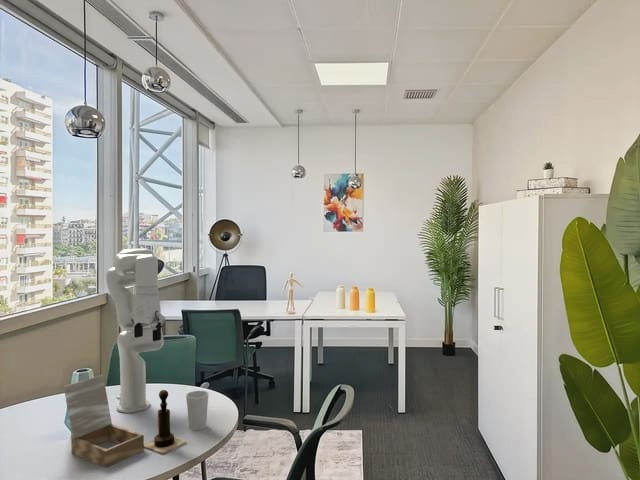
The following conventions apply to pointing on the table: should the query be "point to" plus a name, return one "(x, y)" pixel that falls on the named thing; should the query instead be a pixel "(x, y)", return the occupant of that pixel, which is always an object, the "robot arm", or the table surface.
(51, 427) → the table surface
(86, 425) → the cold frame
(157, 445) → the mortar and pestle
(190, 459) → the table surface
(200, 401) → the cup
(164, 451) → the cork mat
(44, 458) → the table surface
